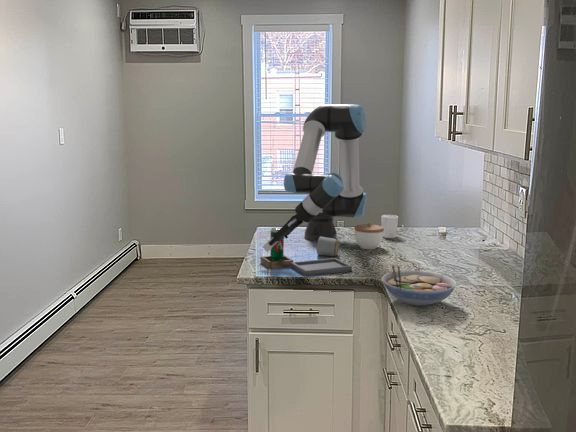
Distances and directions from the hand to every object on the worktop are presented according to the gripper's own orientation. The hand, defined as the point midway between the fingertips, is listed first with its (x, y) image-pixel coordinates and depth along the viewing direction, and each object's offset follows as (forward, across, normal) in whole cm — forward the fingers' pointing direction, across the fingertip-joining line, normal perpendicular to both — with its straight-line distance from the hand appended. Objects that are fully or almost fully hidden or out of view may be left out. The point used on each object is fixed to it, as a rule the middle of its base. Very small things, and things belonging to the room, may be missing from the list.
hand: (268, 247), depth 226 cm
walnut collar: (+2, 0, -7) cm, 7 cm away
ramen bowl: (-39, -24, -48) cm, 66 cm away
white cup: (-17, +70, -28) cm, 78 cm away
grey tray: (-11, +1, -20) cm, 22 cm away
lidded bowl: (-15, +44, -26) cm, 53 cm away
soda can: (0, 0, -6) cm, 6 cm away
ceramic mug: (-7, +24, -17) cm, 30 cm away
